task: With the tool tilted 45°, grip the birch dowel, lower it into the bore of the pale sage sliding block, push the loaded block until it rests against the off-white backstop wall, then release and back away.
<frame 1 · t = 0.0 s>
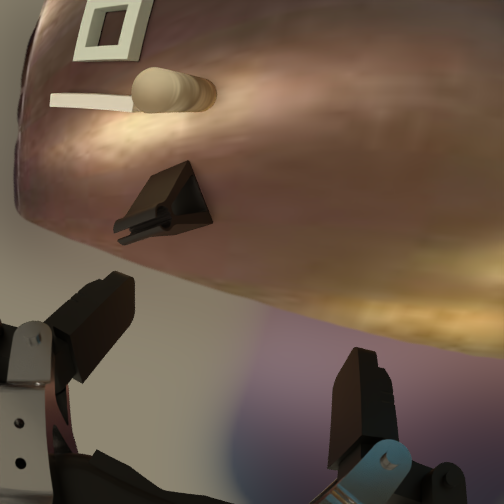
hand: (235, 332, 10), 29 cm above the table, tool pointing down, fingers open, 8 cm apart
dowel: (199, 95, 35), on the table
phone stand: (182, 197, 41), on the table
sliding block: (111, 27, 31), point 2 cm above the table, slide at 0.0 cm
backstop wall: (104, 100, 37), on the table
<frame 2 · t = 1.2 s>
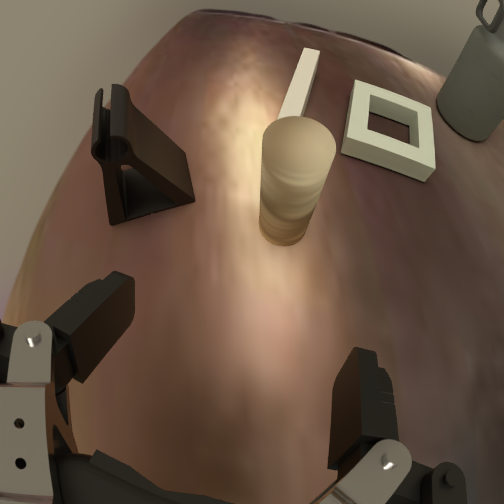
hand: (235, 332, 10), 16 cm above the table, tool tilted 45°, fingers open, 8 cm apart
dowel: (282, 223, 29), on the table
phone stand: (149, 189, 30), on the table
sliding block: (390, 127, 31), point 2 cm above the table, slide at 0.0 cm
water bottle: (460, 117, 35), on the table
backstop wall: (296, 108, 34), on the table
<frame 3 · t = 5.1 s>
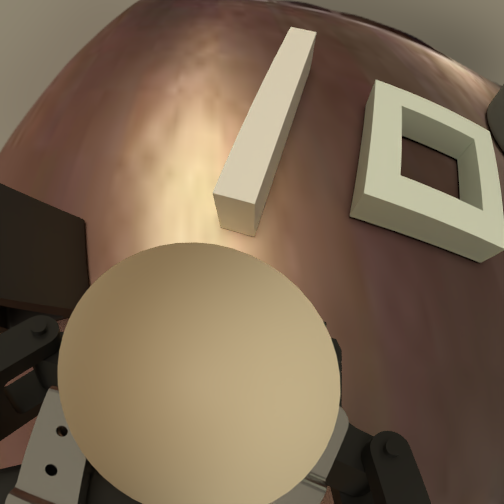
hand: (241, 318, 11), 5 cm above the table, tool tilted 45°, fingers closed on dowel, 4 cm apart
dowel: (233, 364, 15), on the table, touching gripper
phone stand: (37, 281, 17), on the table
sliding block: (434, 165, 18), point 2 cm above the table, slide at 0.0 cm
backstop wall: (274, 129, 20), on the table
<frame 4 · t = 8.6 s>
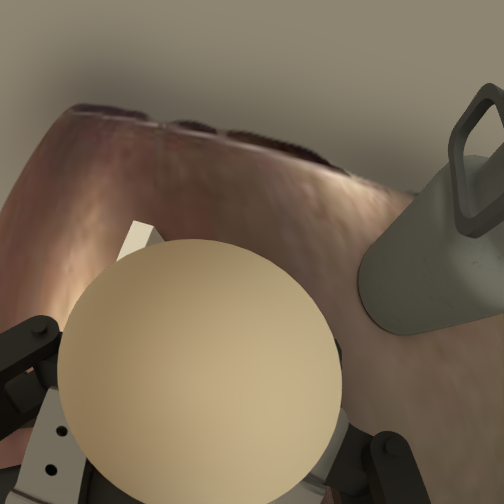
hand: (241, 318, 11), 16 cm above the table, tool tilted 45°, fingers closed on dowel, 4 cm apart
dowel: (234, 363, 15), point 10 cm above the table, touching gripper
phone stand: (8, 399, 23), on the table
water bottle: (399, 285, 27), on the table
backstop wall: (126, 319, 26), on the table
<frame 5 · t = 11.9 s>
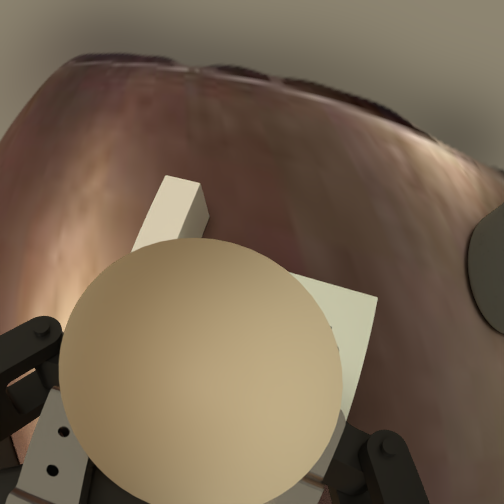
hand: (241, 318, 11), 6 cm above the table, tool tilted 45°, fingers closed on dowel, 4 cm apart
dowel: (234, 363, 15), point 1 cm above the table, touching gripper, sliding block
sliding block: (250, 370, 15), point 2 cm above the table, slide at 5.0 cm, touching backstop wall, dowel
water bottle: (502, 275, 18), on the table
backstop wall: (149, 334, 17), on the table
when the fingers open (6 cm above the table, at t = 12.1 s): dowel drops 1 cm, resting in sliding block.
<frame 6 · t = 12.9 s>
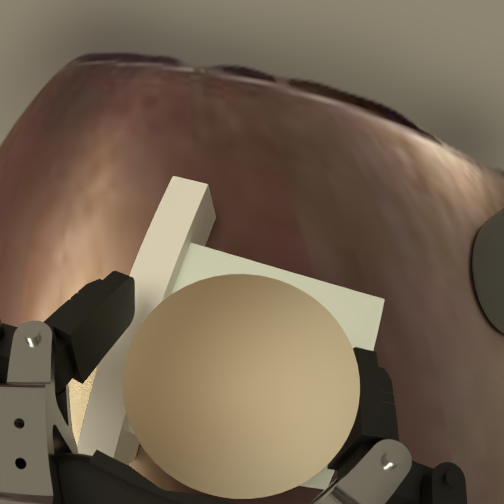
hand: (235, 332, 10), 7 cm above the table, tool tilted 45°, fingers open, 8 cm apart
dowel: (248, 366, 16), resting in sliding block
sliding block: (257, 372, 15), point 2 cm above the table, slide at 5.0 cm, touching backstop wall
backstop wall: (155, 335, 17), on the table
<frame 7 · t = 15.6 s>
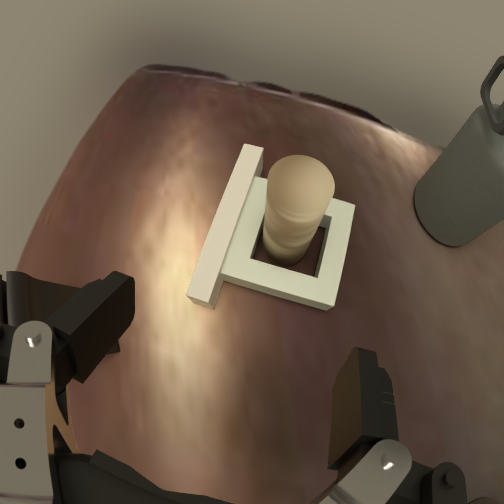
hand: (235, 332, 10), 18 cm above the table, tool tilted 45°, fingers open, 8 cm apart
dowel: (284, 245, 31), resting in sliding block
phone stand: (80, 330, 28), on the table
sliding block: (290, 242, 29), point 2 cm above the table, slide at 5.0 cm, touching backstop wall
water bottle: (442, 211, 33), on the table
backstop wall: (230, 230, 31), on the table
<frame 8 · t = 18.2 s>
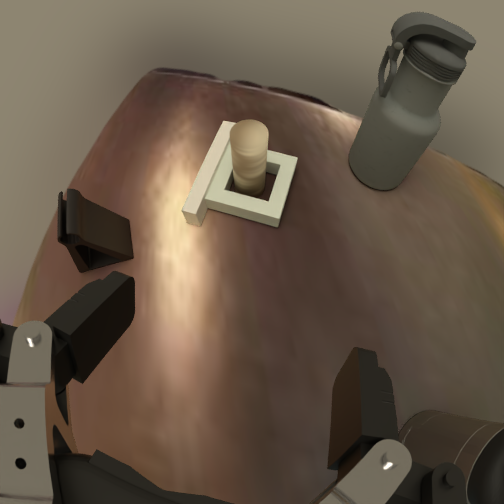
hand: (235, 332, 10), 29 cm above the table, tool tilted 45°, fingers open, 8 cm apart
dowel: (249, 186, 45), resting in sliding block
phone stand: (105, 247, 42), on the table
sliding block: (253, 182, 43), point 2 cm above the table, slide at 5.0 cm, touching backstop wall
water bottle: (374, 166, 47), on the table
backstop wall: (213, 177, 45), on the table
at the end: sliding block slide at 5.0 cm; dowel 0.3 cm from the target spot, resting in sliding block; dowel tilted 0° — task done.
